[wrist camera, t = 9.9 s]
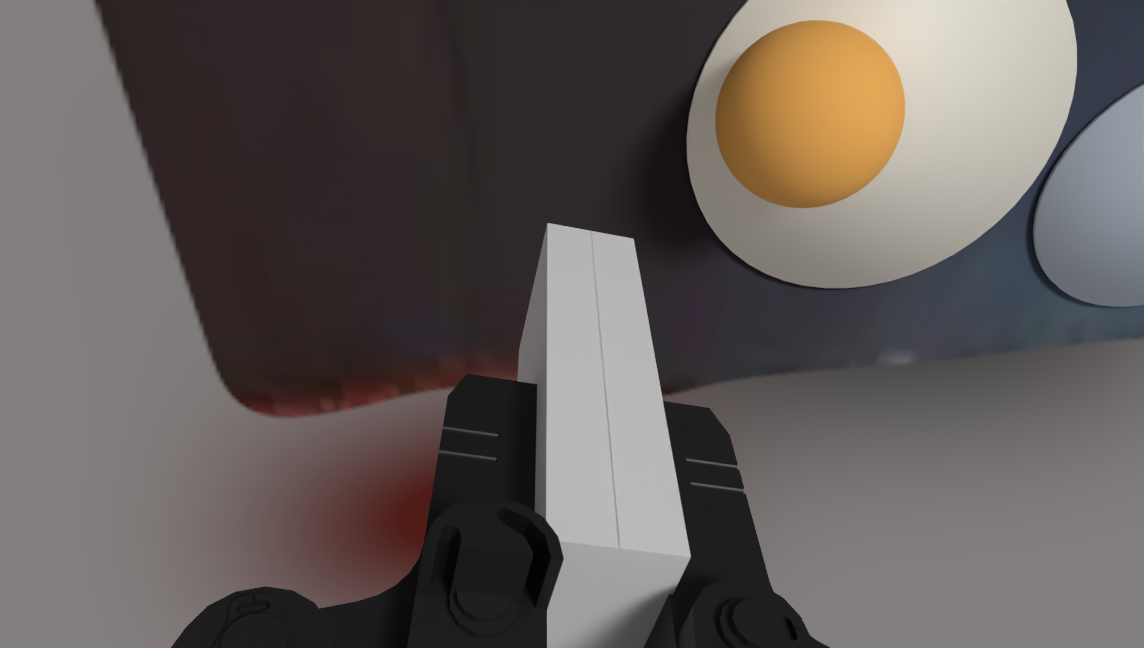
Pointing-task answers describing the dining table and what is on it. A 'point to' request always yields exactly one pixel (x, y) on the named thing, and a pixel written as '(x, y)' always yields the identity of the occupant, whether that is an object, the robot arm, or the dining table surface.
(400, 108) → the dining table surface
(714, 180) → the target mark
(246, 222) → the dining table surface
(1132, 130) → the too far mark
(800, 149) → the ball
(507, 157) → the dining table surface
